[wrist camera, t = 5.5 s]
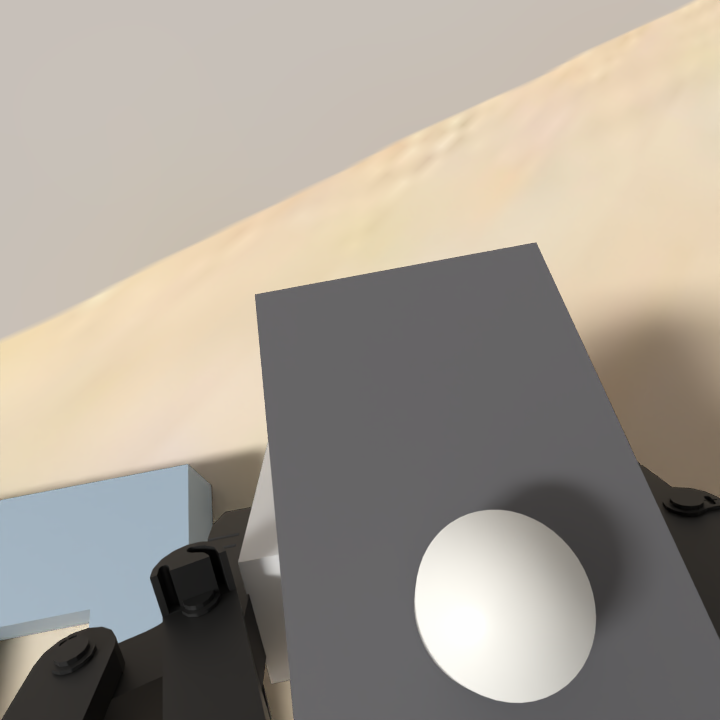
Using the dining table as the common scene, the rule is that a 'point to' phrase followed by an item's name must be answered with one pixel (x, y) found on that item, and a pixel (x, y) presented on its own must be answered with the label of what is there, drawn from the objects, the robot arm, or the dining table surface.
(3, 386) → the dining table surface
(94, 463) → the dining table surface
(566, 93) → the dining table surface
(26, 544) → the plate
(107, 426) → the dining table surface
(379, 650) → the servo block
